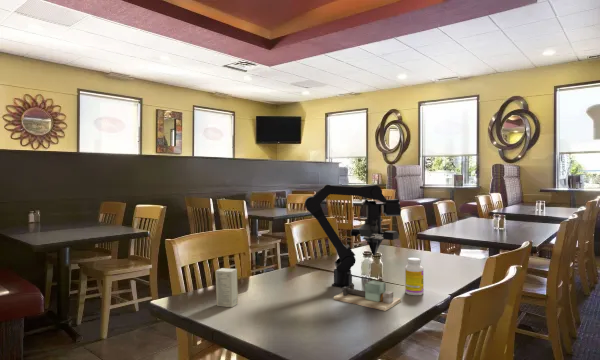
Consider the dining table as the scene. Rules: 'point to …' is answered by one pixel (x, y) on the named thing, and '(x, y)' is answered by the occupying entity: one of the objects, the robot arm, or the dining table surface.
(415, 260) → the supplement bottle
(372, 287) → the mint green cube
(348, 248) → the robot arm
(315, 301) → the dining table surface
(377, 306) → the cable board
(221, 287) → the skincare box
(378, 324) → the dining table surface
